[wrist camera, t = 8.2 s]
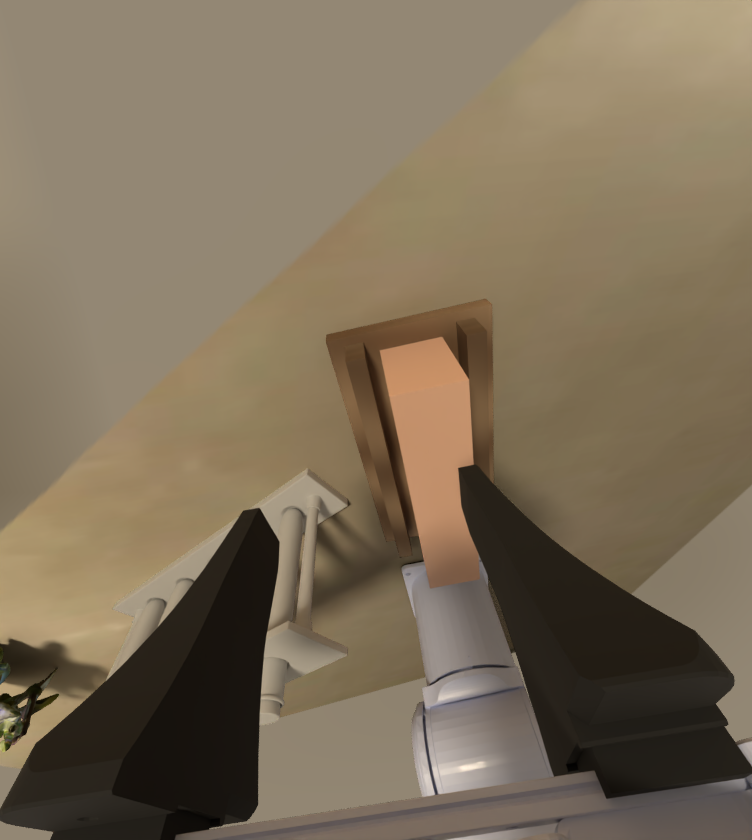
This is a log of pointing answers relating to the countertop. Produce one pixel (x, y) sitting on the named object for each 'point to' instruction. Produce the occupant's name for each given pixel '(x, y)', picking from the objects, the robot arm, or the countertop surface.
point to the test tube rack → (286, 641)
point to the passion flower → (6, 714)
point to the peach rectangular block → (434, 452)
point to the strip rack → (373, 411)
